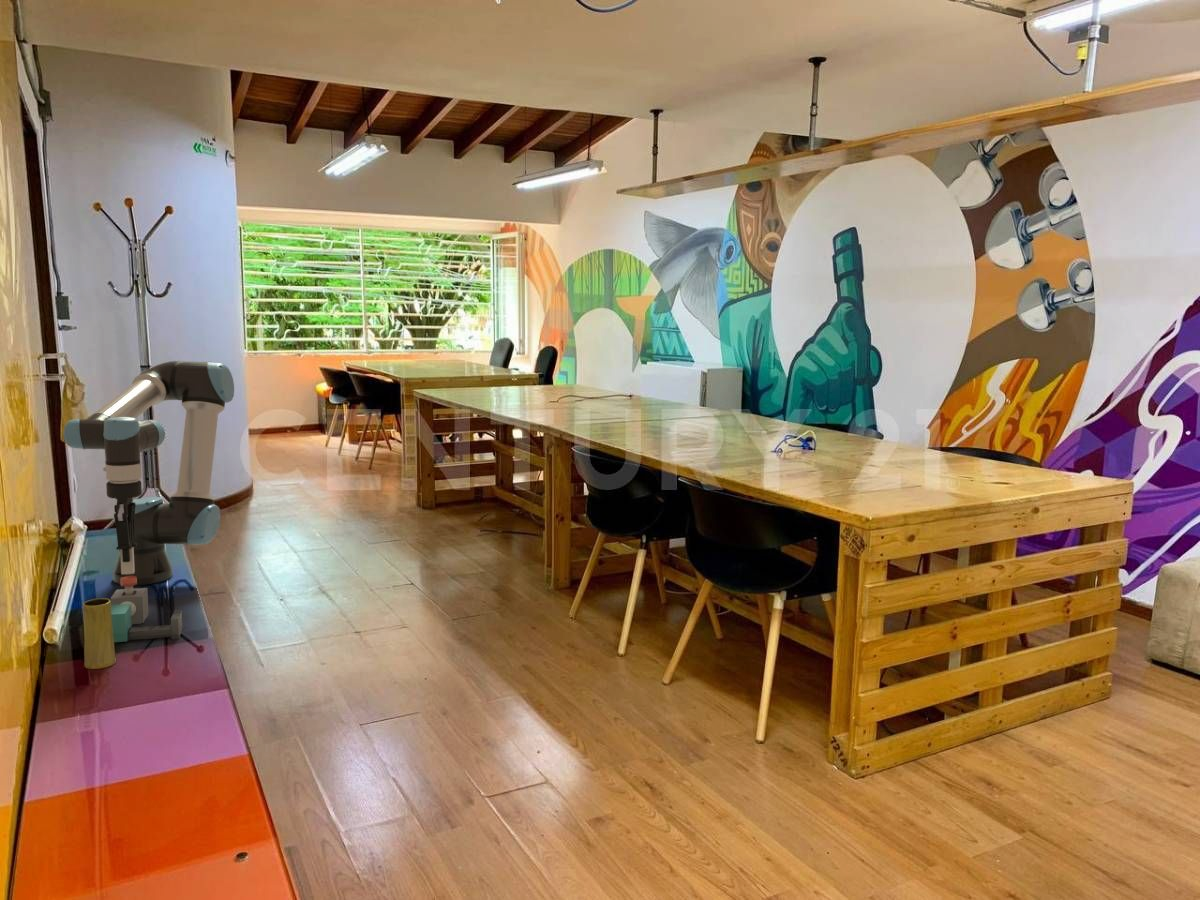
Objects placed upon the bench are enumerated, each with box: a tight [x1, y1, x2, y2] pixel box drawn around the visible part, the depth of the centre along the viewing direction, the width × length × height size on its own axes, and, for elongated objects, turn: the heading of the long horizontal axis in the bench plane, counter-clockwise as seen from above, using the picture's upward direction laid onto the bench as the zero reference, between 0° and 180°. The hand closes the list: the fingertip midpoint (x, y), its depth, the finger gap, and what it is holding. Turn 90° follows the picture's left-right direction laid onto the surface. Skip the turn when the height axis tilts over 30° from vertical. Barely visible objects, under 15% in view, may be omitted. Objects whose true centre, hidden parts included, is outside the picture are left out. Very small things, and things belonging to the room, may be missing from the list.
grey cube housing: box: [110, 587, 149, 625], centre depth 213 cm, size 7×7×7 cm
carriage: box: [111, 604, 133, 643], centre depth 200 cm, size 6×7×7 cm
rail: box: [127, 609, 183, 641], centre depth 202 cm, size 19×6×5 cm, turn 109°
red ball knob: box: [120, 576, 137, 595], centre depth 212 cm, size 4×4×5 cm
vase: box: [82, 597, 117, 670], centre depth 186 cm, size 6×6×14 cm
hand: (128, 573), depth 211 cm, fingers closed
